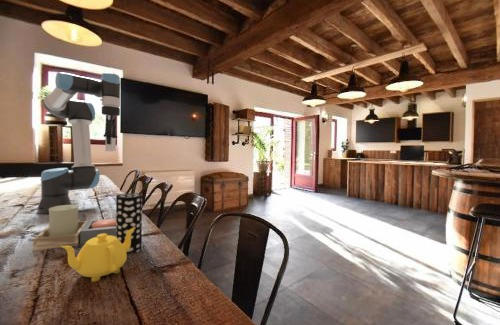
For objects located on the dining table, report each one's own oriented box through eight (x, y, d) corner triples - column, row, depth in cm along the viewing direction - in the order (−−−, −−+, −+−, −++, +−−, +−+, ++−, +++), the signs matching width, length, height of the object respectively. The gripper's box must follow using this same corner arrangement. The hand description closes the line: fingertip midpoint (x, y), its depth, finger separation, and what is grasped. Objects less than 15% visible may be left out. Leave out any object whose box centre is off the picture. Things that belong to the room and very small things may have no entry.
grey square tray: (88, 231, 102) (88, 220, 101) (124, 228, 108) (124, 217, 107) (80, 244, 89) (80, 231, 89) (122, 239, 95) (122, 227, 95)
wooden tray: (51, 232, 99) (51, 223, 99) (88, 229, 104) (88, 220, 104) (33, 250, 83) (32, 239, 82) (78, 245, 88) (77, 234, 88)
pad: (93, 226, 100) (93, 220, 100) (118, 224, 104) (118, 218, 104) (89, 233, 92) (89, 227, 92) (115, 231, 96) (115, 225, 96)
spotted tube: (146, 247, 89) (147, 194, 87) (128, 256, 81) (129, 198, 80) (129, 243, 91) (129, 192, 90) (110, 252, 83) (110, 196, 82)
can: (63, 241, 88) (62, 210, 88) (42, 239, 90) (41, 208, 89) (84, 233, 97) (84, 204, 97) (65, 230, 99) (64, 202, 98)
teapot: (72, 300, 57) (72, 254, 57) (52, 278, 66) (52, 238, 65) (149, 268, 74) (149, 232, 73) (125, 254, 82) (125, 222, 82)
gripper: (105, 109, 123) (105, 150, 124) (97, 101, 100) (97, 151, 102) (122, 110, 126) (121, 150, 127) (117, 103, 103) (117, 151, 105)
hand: (110, 151), depth 114 cm, fingers open, 13 cm apart
